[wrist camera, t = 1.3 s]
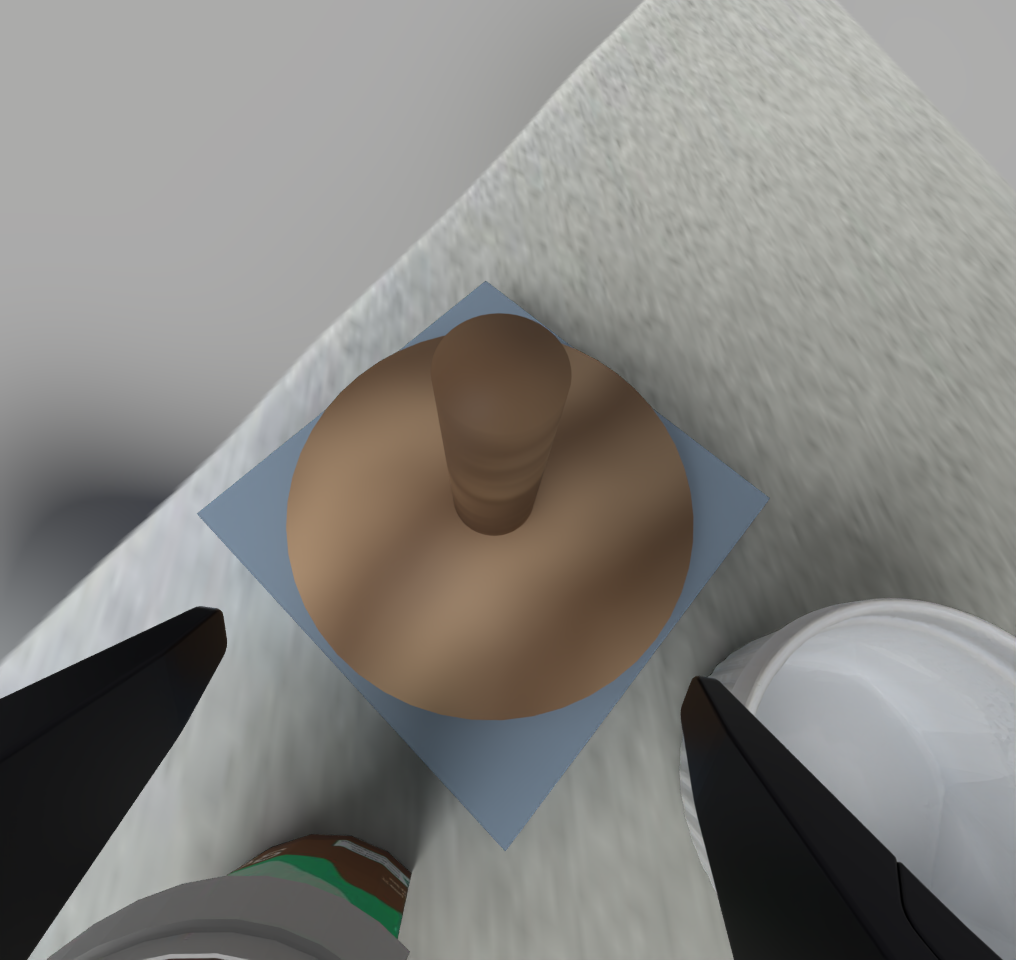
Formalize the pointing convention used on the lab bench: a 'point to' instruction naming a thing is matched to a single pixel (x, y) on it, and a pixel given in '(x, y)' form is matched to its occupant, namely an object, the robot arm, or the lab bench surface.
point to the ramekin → (900, 739)
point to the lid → (490, 523)
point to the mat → (457, 741)
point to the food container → (267, 910)
